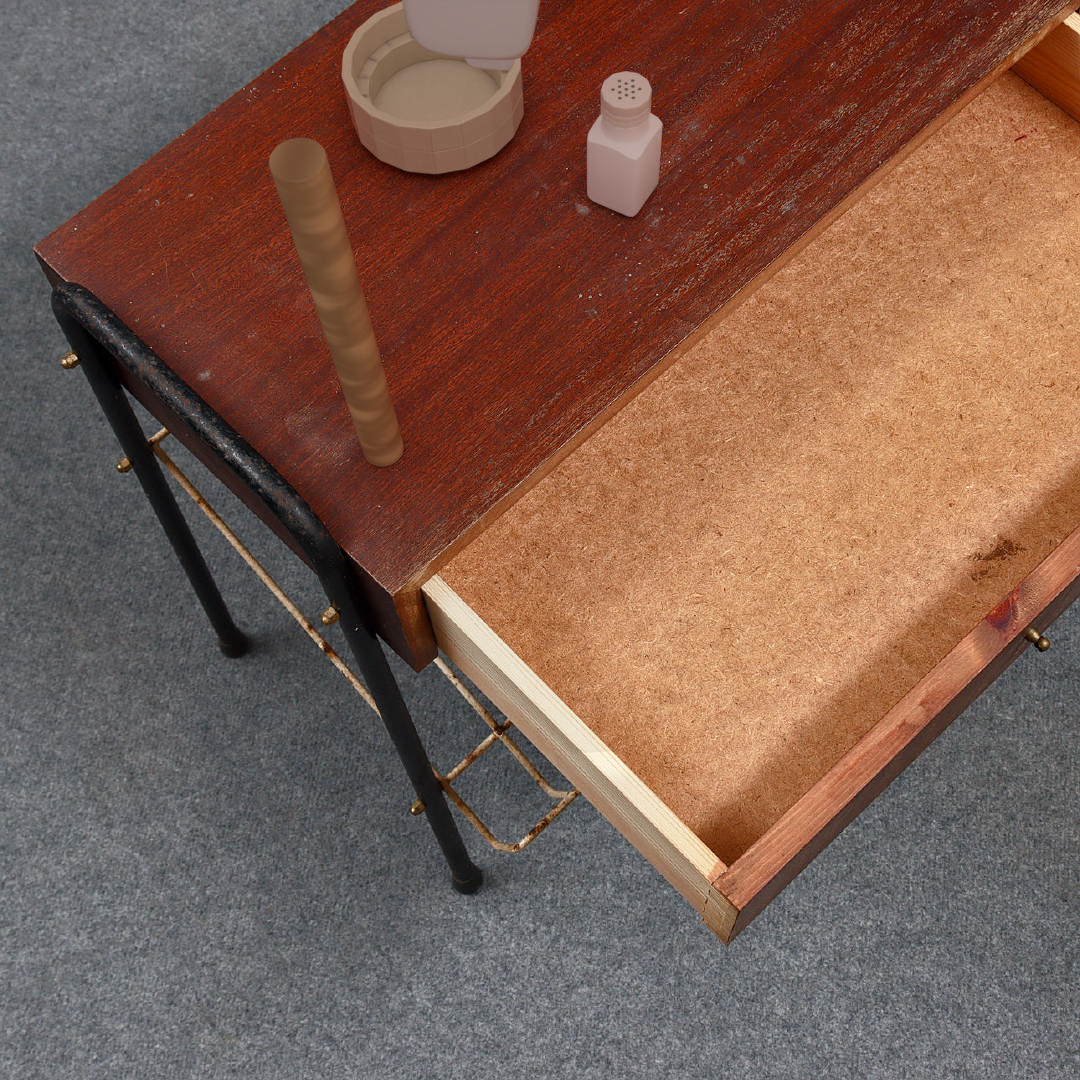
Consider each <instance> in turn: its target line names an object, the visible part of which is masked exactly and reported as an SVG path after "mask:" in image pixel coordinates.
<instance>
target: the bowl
mask: <svg viewBox="0 0 1080 1080" xmlns="http://www.w3.org/2000/svg"><path fill="white" fill-rule="evenodd" d="M341 62H342V63H341V74H340V75H341V81H342V85H343V90H344V93H345V98H346V102H347V106H348V111H349V115H350V120H351V123H352V125H353V127H354V131H355V132H356V135H357V137H358V139H359V143H360V144H362V145H363V146H364V147H365V148H366V149H367V150H368V151H369V152H370V153H371V154H372V155H373V156H374V157H375V158H376V159H378V160H379V161H381V162H383V163H385V164H388V165H389V166H392V167H395V168H398V169H399V170H402V171H405V172H410V173H419V174H429V175H439V174H446V173H451V172H457V171H463V170H467V169H470V168H472V167H475V166H476V165H478V164H481V163H483V162H485V161H486V160H488V159H491V158H493V157H494V156H496V155H497V154H498V153H499V152H501V150H502V149H503V148H504V147H505V146H506V145H507V144H508V143H510V141H511V140H512V139H513V138H514V137H515V134H516V133H517V130H518V129H519V126H520V125H521V122H522V119H523V118H524V115H525V98H524V97H525V93H524V79H523V78H524V77H523V63H522V62H523V61H522V57H520V58H518V59H515V62H514V65H513V67H512V68H510V69H508V70H505V71H499V70H488V69H476V68H473V67H472V66H470V65H468V64H467V62H466V60H465V58H460V57H452V56H445V55H439V54H434V53H431V52H428V51H426V50H425V49H423V48H422V47H421V46H420V45H419V44H418V43H417V42H416V41H415V40H414V38H413V37H412V35H411V33H410V30H409V27H408V24H407V21H406V17H405V13H404V9H403V4H402V0H401V1H399V2H397V3H395V4H393V5H391V6H388V7H386V8H384V9H382V10H379V11H376V12H375V13H374V14H373V15H371V16H370V17H369V18H368V19H367V20H366V21H365V22H363V23H362V24H361V25H360V26H359V27H358V28H357V29H355V31H354V32H353V34H352V35H351V38H350V39H349V42H348V43H347V44H346V47H345V48H344V50H343V52H342V61H341Z"/></svg>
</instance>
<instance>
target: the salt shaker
mask: <svg viewBox="0 0 1080 1080" xmlns="http://www.w3.org/2000/svg"><path fill="white" fill-rule="evenodd" d="M652 93H653V89H652V87H651V84H650V81H649V80H648V79H647V78H646V77H644V76H643V75H642V74H641V73H638V72H634V71H627V70H625V71H620V72H616V73H613V74H611V75H610V76H608V77H607V78H606V79H604V80H603V83H602V86H601V89H600V115H598V117H597V118H596V120H595V122H594V123H593V124H592V126H591V128H590V129H589V131H588V133H587V138H586V195H587V197H588V199H589V200H591V202H594V203H595V204H598V205H601V206H603V207H605V208H607V209H610V210H612V211H615V212H616V213H619V214H622V215H624V216H626V217H631V218H633V217H635V216H636V215H638V213H639V212H640V210H641V209H642V208H643V206H644V205H645V203H646V201H647V200H648V199H649V197H650V196H651V195H652V193H653V192H654V190H655V189H656V187H657V186H658V184H659V180H660V166H661V165H660V164H661V154H662V153H661V152H662V140H663V139H662V137H663V126H664V125H663V122H662V121H661V119H660V118H659V117H658V116H657V115H655V114H653V113H651V111H652V98H653V97H652Z"/></svg>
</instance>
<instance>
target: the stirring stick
mask: <svg viewBox="0 0 1080 1080" xmlns="http://www.w3.org/2000/svg"><path fill="white" fill-rule="evenodd" d="M268 168H269V171H270V174H271V176H272V177H271V178H272V179H273V180H272V181H273V182H274V186H275V189H276V192H277V195H278V199H279V201H280V203H281V207H282V210H283V214H284V216H285V220H286V222H287V225H288V228H289V231H290V234H291V238H292V241H293V244H294V247H295V249H296V252H297V256H298V258H299V263H300V264H301V268H302V272H303V274H304V277H305V280H306V283H307V287H308V289H309V292H310V296H311V299H312V302H313V305H314V307H315V311H316V314H317V317H318V320H319V323H320V326H321V330H322V332H323V335H324V338H325V341H326V344H327V347H328V351H329V353H330V356H331V359H332V362H333V366H334V369H335V371H336V375H337V379H338V381H339V384H340V387H341V390H342V393H343V396H344V400H345V402H346V405H347V408H348V411H349V414H350V418H351V420H352V424H353V426H354V429H355V430H354V431H355V433H356V435H357V439H358V442H359V445H360V448H361V451H362V454H363V457H364V459H365V460H366V462H368V463H369V464H371V465H373V466H375V467H380V468H381V467H389V466H392V465H394V464H395V463H397V462H398V461H399V460H400V459H401V458H402V457H403V454H404V451H405V445H404V440H403V437H402V432H401V429H400V424H399V421H398V418H397V414H396V410H395V407H394V406H395V405H394V402H393V399H392V395H391V392H390V388H389V384H388V380H387V376H386V373H385V368H384V366H383V365H384V364H383V362H382V358H381V355H380V350H379V346H378V343H377V339H376V335H375V331H374V327H373V324H372V320H371V316H370V313H369V309H368V305H367V302H366V297H365V293H364V291H363V286H362V282H361V279H360V276H359V271H358V267H357V264H356V259H355V257H354V253H353V250H352V246H351V242H350V238H349V234H348V231H347V228H346V227H347V226H346V223H345V219H344V215H343V212H342V208H341V203H340V199H339V197H338V192H337V190H336V184H335V181H334V178H333V174H332V171H331V166H330V163H329V159H328V155H327V152H326V150H325V148H324V147H323V146H322V145H321V144H320V142H318V141H316V140H314V139H313V138H308V137H294V138H290V139H287V140H284V141H282V142H280V143H279V144H278V145H277V146H276V147H274V149H273V150H272V151H271V154H270V155H269V159H268Z"/></svg>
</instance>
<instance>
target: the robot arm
mask: <svg viewBox="0 0 1080 1080" xmlns="http://www.w3.org/2000/svg"><path fill="white" fill-rule="evenodd" d="M401 1H402V4H403V9H404V13H405V17H406V21H407V24H408V27H409V30H410V33H411V35H412V37H413V38H414V40H415V41H416V42H417V43H418V44H419V45H420V46H421V47H422V48H423V49H425V50H426V51H428V52H431V53H434V54H439V55H445V56H452V57H460V58H465V60H466V62H467V64H468V65H470V66H472V67H473V68H476V69H488V70H499V71H505V70H508V69H510V68H512V67H513V65H514V62H515V59H518V58H520V57H521V58H523V56H525V54H527V52H528V51H529V49H530V47H531V45H532V41H533V38H534V35H535V31H536V26H537V21H538V16H539V10H540V6H541V0H401Z"/></svg>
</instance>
